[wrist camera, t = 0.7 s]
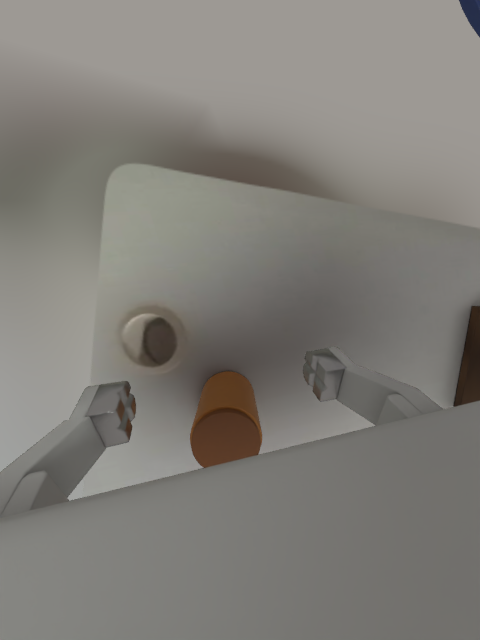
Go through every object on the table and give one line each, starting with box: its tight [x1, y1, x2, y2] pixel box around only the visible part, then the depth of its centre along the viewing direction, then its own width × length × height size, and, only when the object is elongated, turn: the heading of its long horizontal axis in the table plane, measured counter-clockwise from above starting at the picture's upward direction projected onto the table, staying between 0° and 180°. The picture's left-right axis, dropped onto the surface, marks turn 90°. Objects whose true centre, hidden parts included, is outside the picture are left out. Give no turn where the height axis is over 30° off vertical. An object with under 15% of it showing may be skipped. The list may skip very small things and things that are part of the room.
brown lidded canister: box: [190, 371, 262, 468], centre depth 23 cm, size 6×6×8 cm
